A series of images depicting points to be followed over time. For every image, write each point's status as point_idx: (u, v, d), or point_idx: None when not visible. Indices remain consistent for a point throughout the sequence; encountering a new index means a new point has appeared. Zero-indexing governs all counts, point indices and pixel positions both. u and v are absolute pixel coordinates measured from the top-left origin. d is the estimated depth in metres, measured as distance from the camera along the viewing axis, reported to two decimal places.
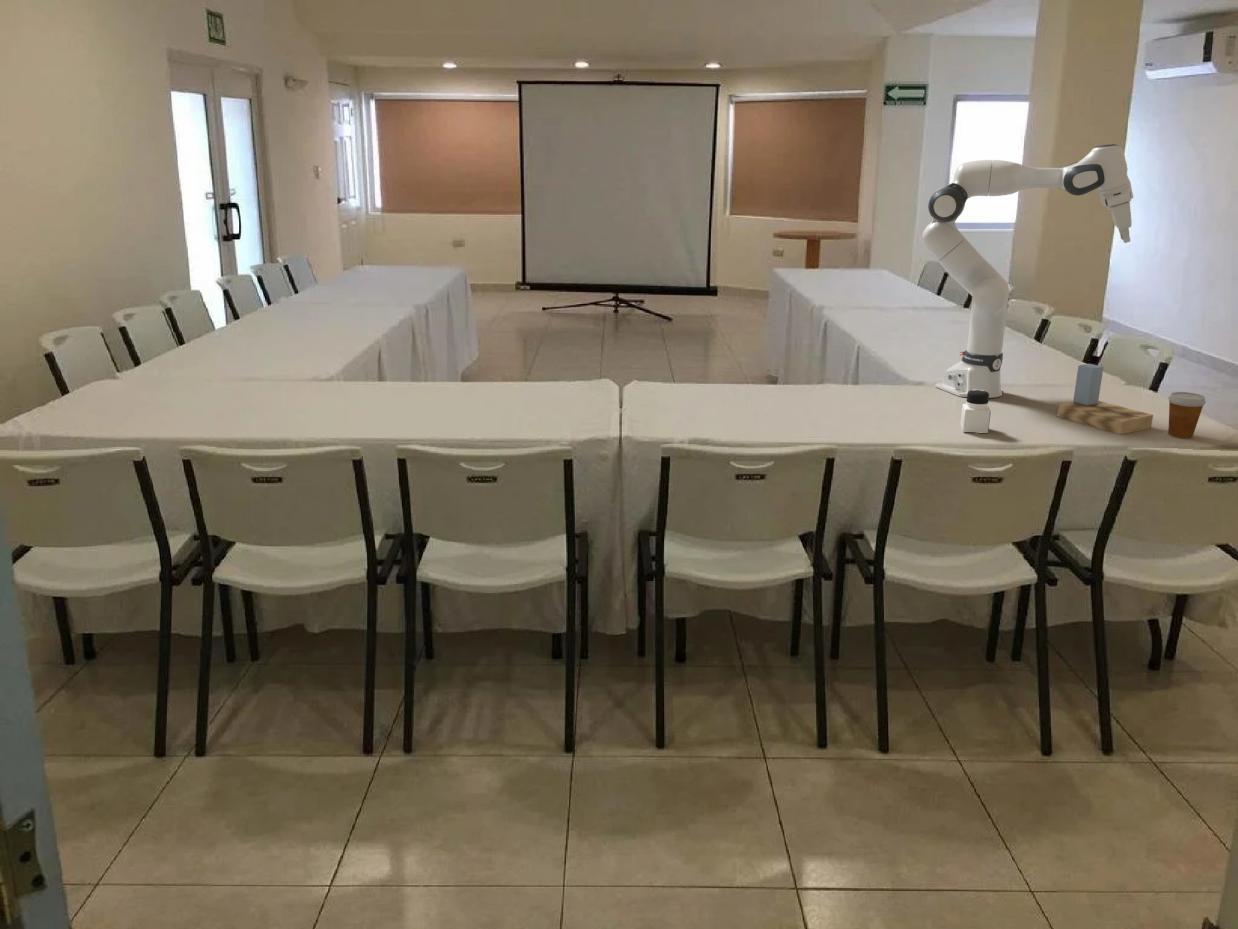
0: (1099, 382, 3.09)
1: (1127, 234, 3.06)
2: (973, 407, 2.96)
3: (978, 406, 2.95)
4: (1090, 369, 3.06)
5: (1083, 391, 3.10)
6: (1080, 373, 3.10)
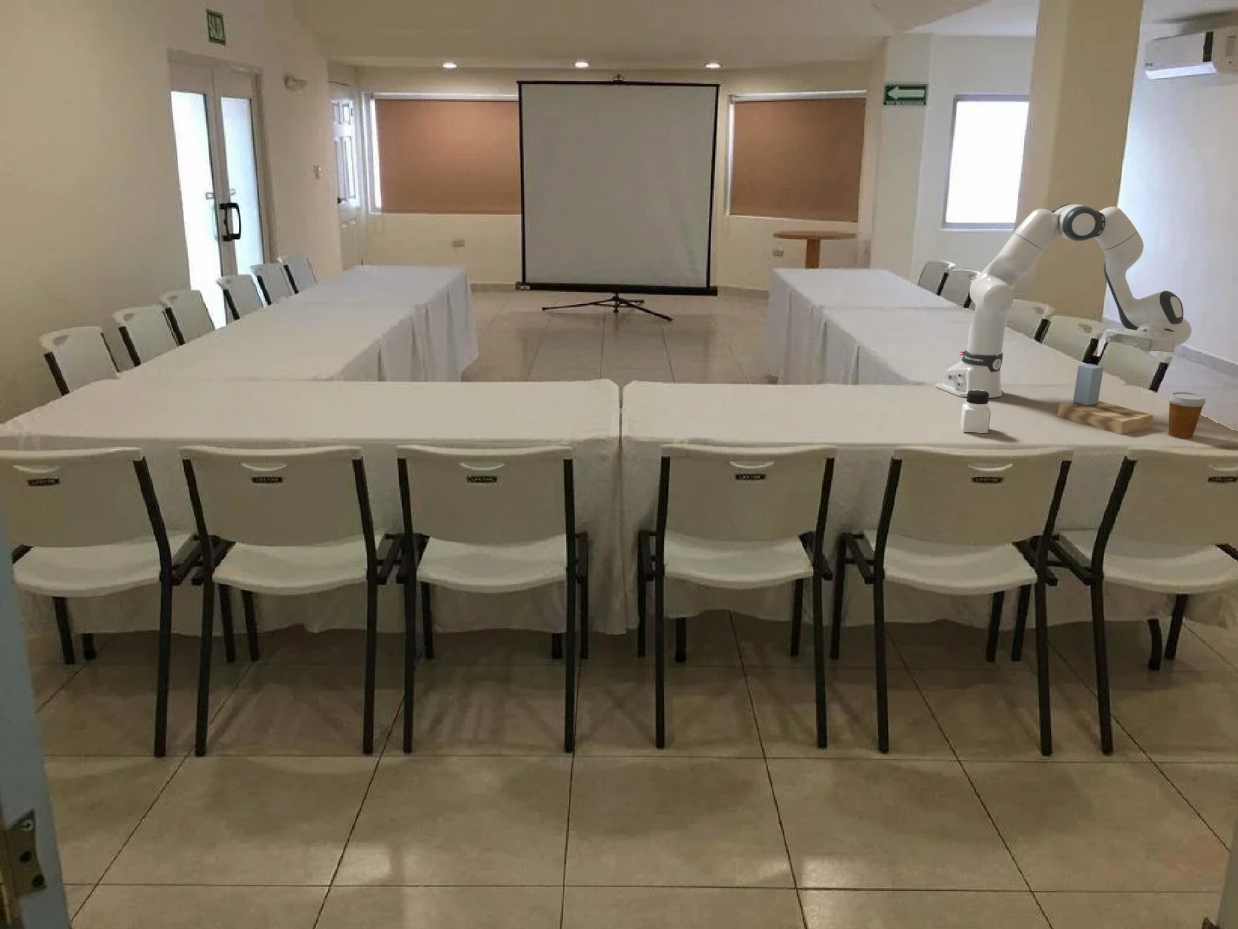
0: (1099, 382, 3.09)
1: (1144, 345, 3.09)
2: (973, 407, 2.96)
3: (978, 406, 2.95)
4: (1090, 369, 3.06)
5: (1083, 391, 3.10)
6: (1080, 373, 3.10)
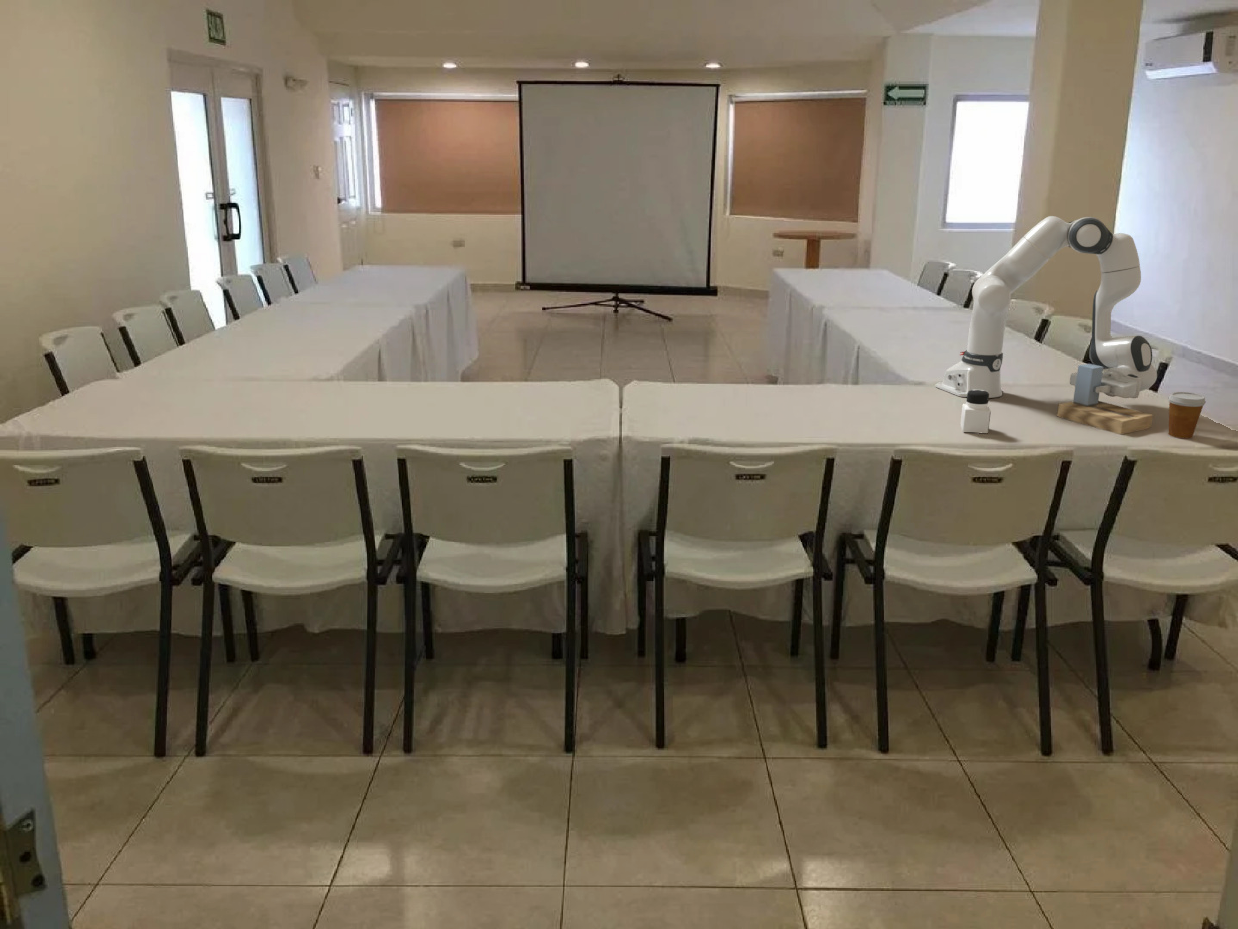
0: (1099, 382, 3.09)
1: (1103, 390, 3.08)
2: (973, 407, 2.96)
3: (978, 406, 2.95)
4: (1090, 369, 3.06)
5: (1083, 391, 3.10)
6: (1080, 373, 3.10)
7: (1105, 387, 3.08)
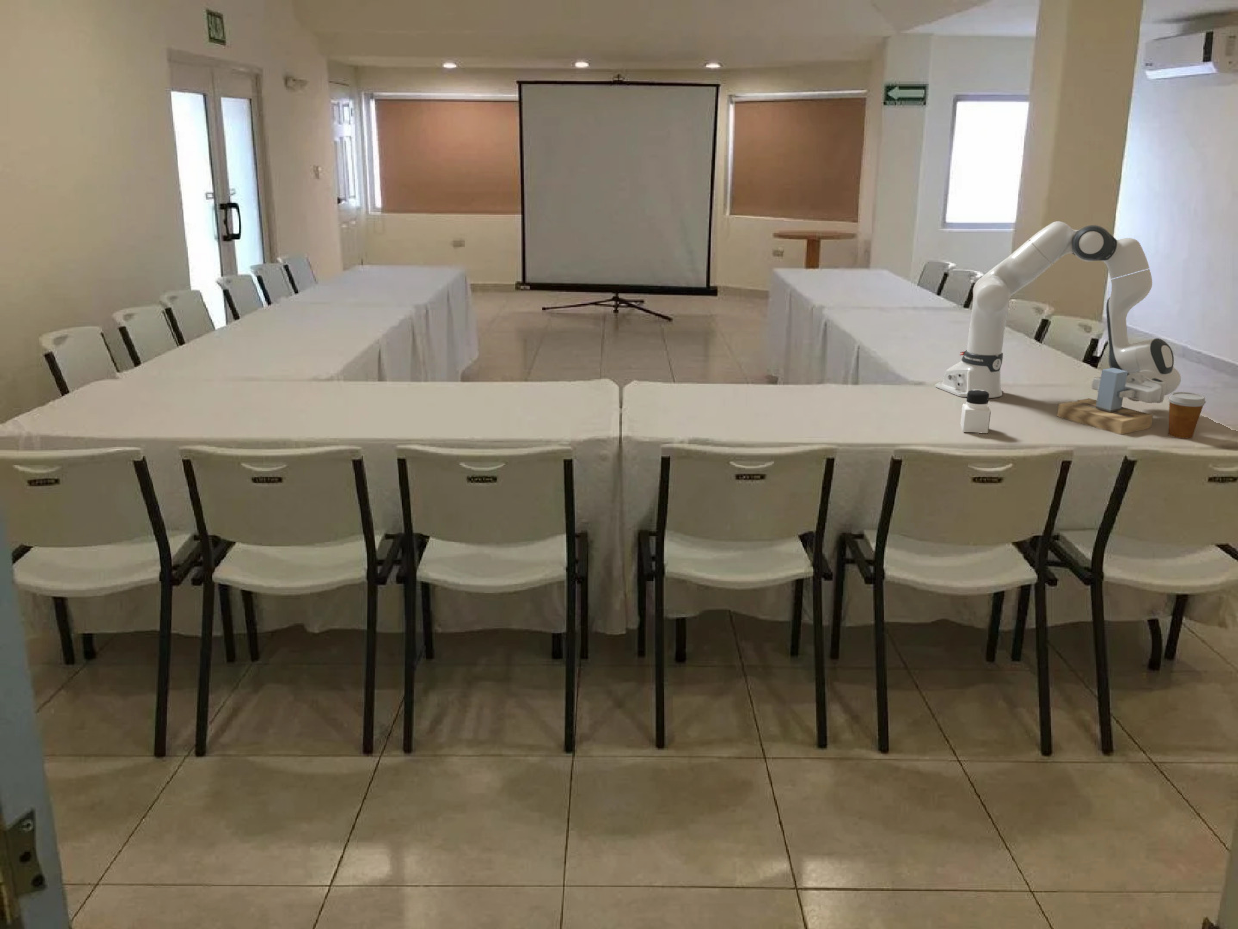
0: (1123, 387, 3.02)
1: (1127, 395, 3.01)
2: (973, 407, 2.96)
3: (978, 406, 2.95)
4: (1114, 374, 3.00)
5: (1107, 396, 3.03)
6: (1104, 377, 3.03)
7: (1129, 392, 3.01)
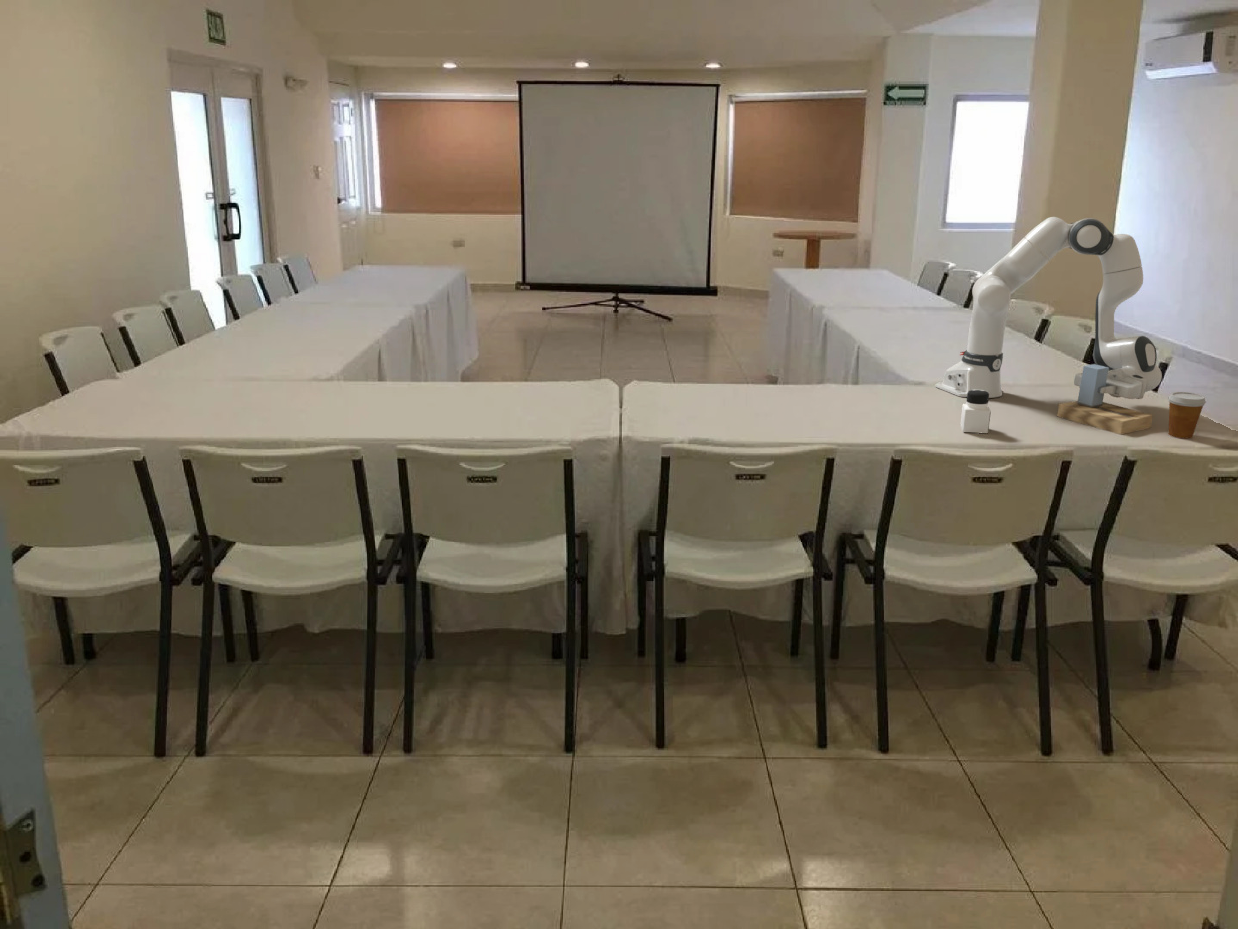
0: (1104, 383, 3.07)
1: (1108, 391, 3.06)
2: (973, 407, 2.96)
3: (978, 406, 2.95)
4: (1095, 370, 3.05)
5: (1088, 392, 3.08)
6: (1085, 373, 3.08)
7: (1110, 388, 3.06)
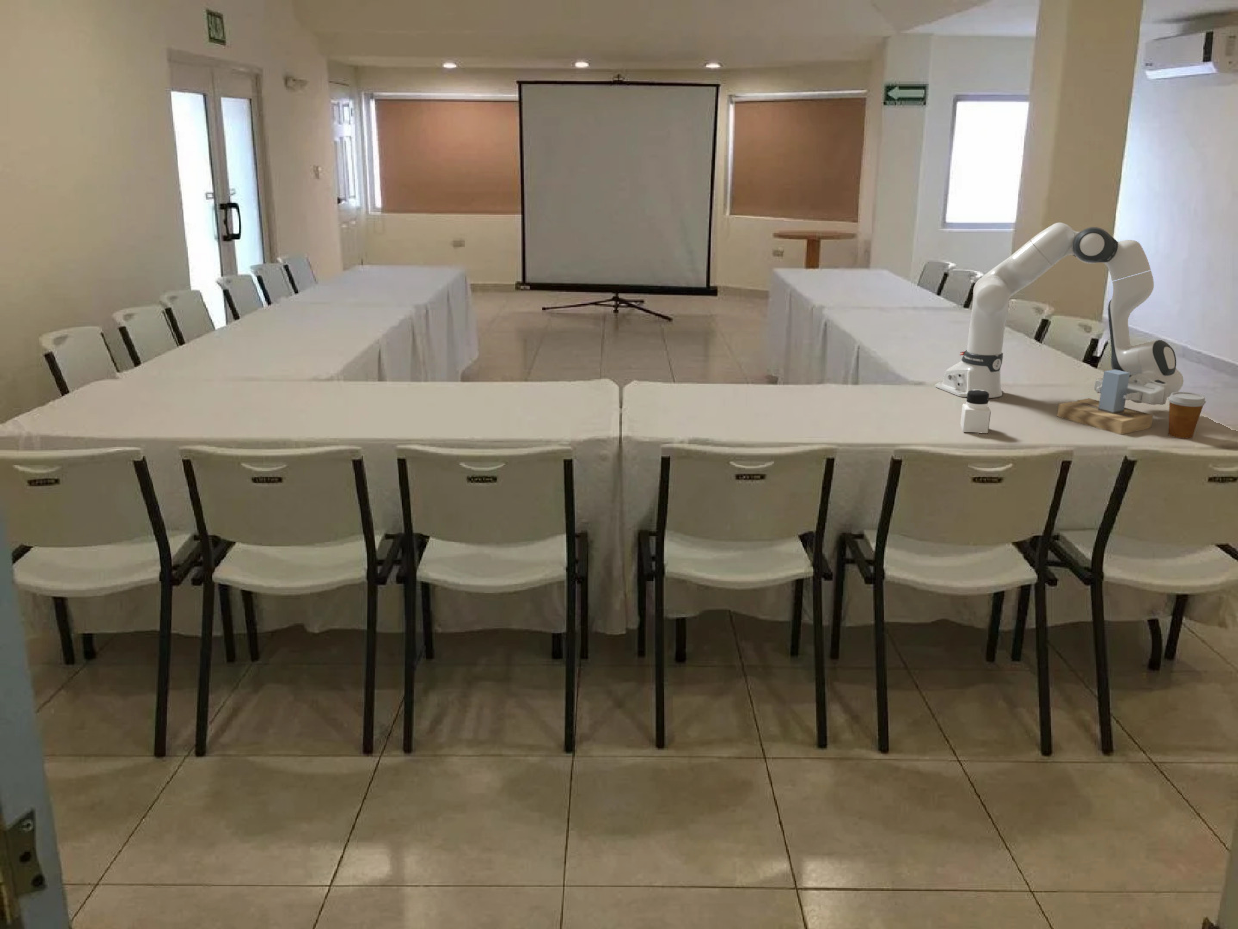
0: (1125, 388, 3.02)
1: (1134, 398, 2.99)
2: (973, 407, 2.96)
3: (978, 406, 2.95)
4: (1116, 375, 2.99)
5: (1109, 398, 3.02)
6: (1106, 379, 3.02)
7: (1136, 394, 2.99)
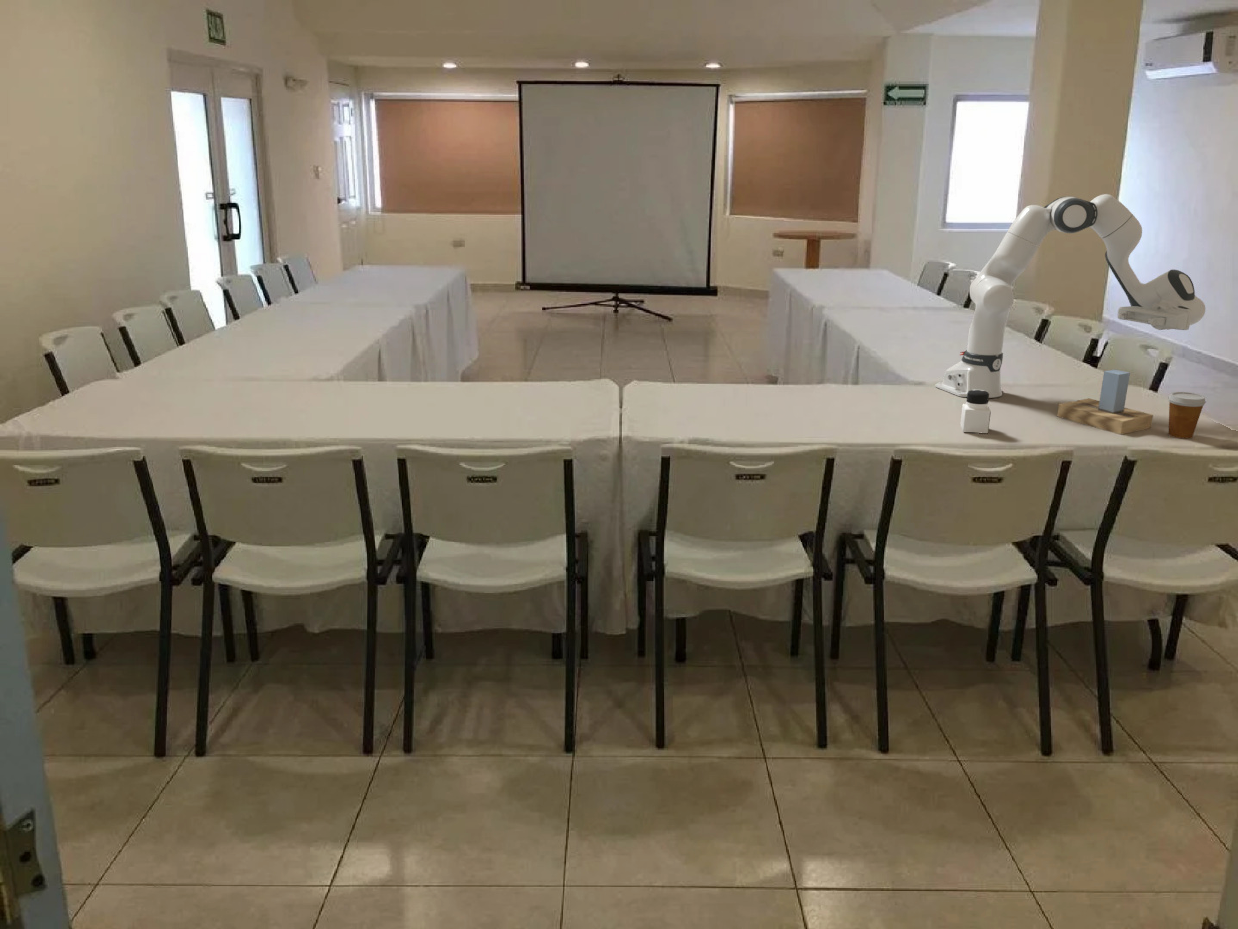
0: (1125, 388, 3.02)
1: (1158, 323, 3.03)
2: (973, 407, 2.96)
3: (978, 406, 2.95)
4: (1116, 375, 2.99)
5: (1109, 398, 3.02)
6: (1106, 379, 3.02)
7: (1160, 319, 3.02)
